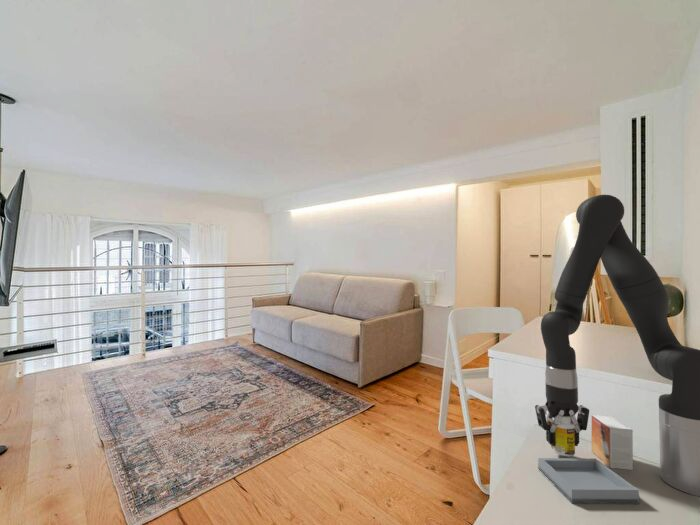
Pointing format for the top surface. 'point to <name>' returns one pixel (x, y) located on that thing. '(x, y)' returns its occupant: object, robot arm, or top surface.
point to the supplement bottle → (564, 437)
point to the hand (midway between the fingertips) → (562, 444)
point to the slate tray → (588, 481)
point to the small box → (612, 442)
